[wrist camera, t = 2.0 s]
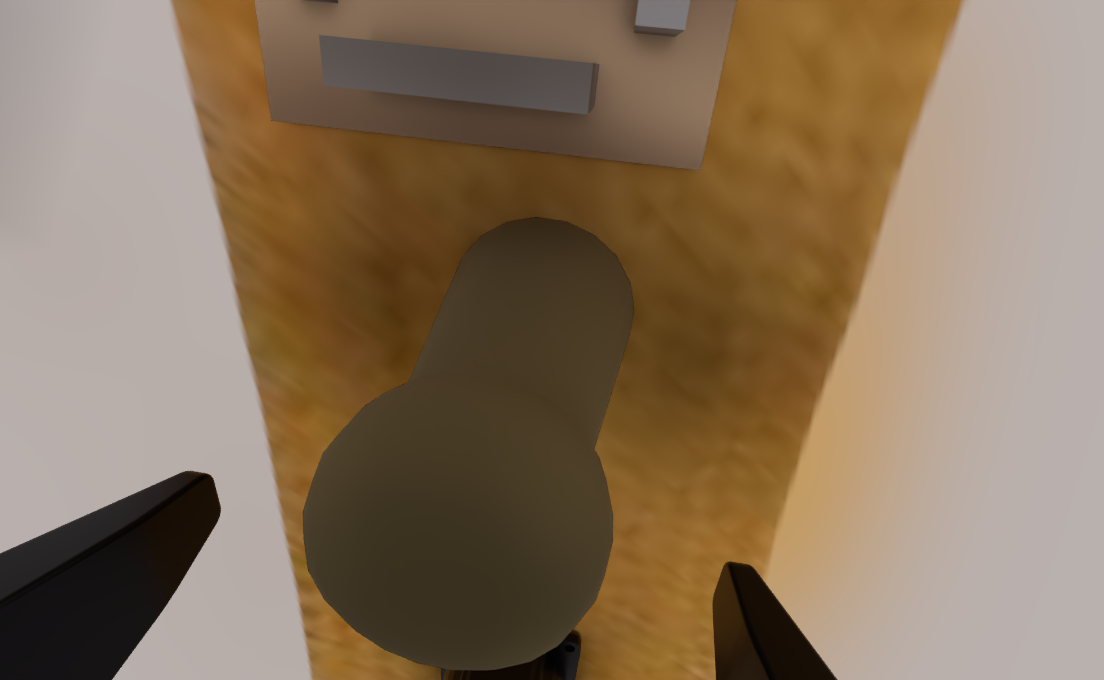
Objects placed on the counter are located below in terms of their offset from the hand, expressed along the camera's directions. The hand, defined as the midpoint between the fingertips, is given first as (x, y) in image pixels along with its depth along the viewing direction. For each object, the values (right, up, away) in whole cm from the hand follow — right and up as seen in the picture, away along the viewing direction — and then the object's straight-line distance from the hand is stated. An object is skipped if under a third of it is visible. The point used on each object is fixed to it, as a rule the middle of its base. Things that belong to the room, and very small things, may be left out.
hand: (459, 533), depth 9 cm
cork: (+1, +4, +9) cm, 10 cm away
